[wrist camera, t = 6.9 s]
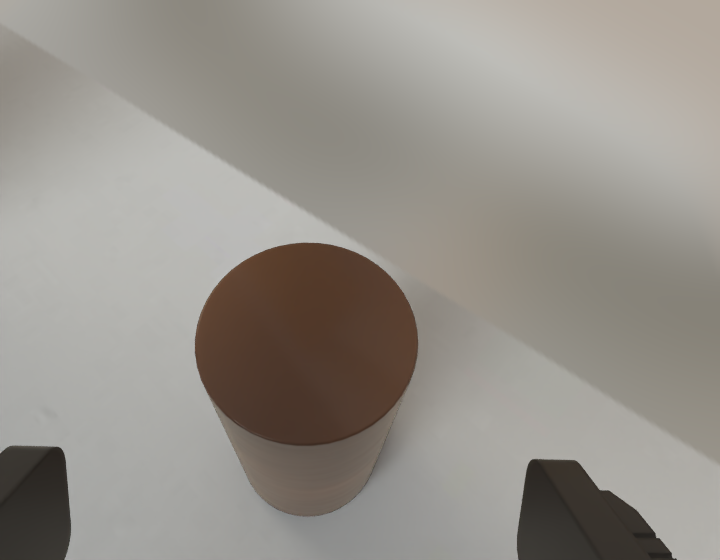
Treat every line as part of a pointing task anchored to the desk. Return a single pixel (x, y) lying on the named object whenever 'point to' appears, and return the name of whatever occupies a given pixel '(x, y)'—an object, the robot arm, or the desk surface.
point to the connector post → (307, 370)
